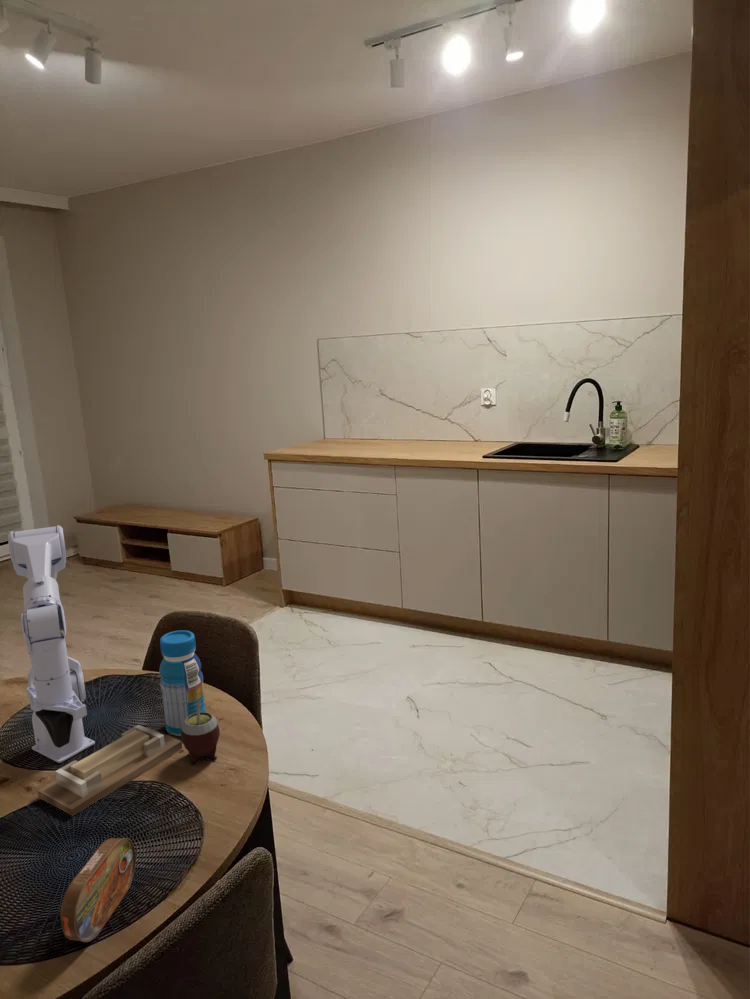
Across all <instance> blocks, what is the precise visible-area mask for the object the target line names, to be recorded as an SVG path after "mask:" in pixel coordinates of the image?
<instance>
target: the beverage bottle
mask: <svg viewBox="0 0 750 999" xmlns="http://www.w3.org/2000/svg"><path fill="white" fill-rule="evenodd" d="M159 641H160V642H159V643H160V644H159V645H160V653H161V656H162V657H163V658H162V660H161V662H160V666H159V675H160V676H161V677H160V680H159V686H160V689H161V694H162V704H163V712H164V725H165V730H166V731H167V733H168V734H170V735H172V736H177V737H181V729H182V725H183V723H184V721H185V719H186V718H187V717H188V716H190V715H192V714H194V713H197V708H196V704H197V702H198V700H199V699H201V698H202V701H201V702H200V703H201V707H200V712H206V704H205V703H206V702H205V694H204V693H205V692H204V675H203V672H202V671H201V669H202V663H201V661H200V658H199V656H198V655H197V654H196V653H195V651H196V647H197V646H196V645H197V644H196V636H195V633H193V632H192V631H190V630H183V629H182V630H174V631H170V632H167V633H165V634H163V635H162V636H161V637H160V640H159Z"/></svg>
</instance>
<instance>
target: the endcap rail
mask: <svg viewBox="0 0 750 999" xmlns="http://www.w3.org/2000/svg"><path fill="white" fill-rule="evenodd" d="M134 730H138V731H140V732H142V733H145V734H147V735H149V741H147V742H146V743H144V754H142V755H141V756H139V757H137V758H136V759H134V760H132V761H131V762H129V763H127V764H126V765H124V766H122V767H121V768H119V769H117V770H116V771H114V772H112V773H111V774H109V775H108V776H106V777H104V778H103V779H102V777H101V773H100V772H98V771H97V772H95V773H93V774H92V775H90V776H88V777H87V778H85V779H83V780H82V779H80V778H78V777H76V776H74V775H72V772H71V766H72V765H74V764H75V763H77V762H79V761H78V760H76V759H75V760H72V761H71V762H69V763H67V764H65V765H63V766H62V767H60V768H58V769H57V770H55V771H54V774H55V780H53V781H51V782H49V783H48V784H46V785H44V786H42V787H41V788H39V789H37V796H38V799H40V800H41V801H43V800H44V801H43V802H45V801H46V802H45V803H47V804H48V803H49V805H50V804H51V805H50V806H52V805H53V806H52V807H54V806H55V807H57V808H59V809H61V810H63V811H64V812H66V813H68V814H70V815H72V816H74V815H76V814H77V813H79V812H81V811H82V812H84V811H85V810H87V809H88V808H90V807H91V806H90V805H92V804H93V805H95V804H97V803H98V802H99V801H98V800H100V799H101V800H103V799H105V798H106V797H107V796H109V795H110V793H111V794H112V793H114V792H116V791H117V790H118V788H119V789H121V787H124V785H127V784H128V783H129V782H131V781H132V780H134V779H136V778H137V777H139V776H141V775H142V774H144V773H145V772H147V771H149V770H151V769H152V768H153V767H155V766H156V765H158V764H160V763H162V761H164V760H167V759H168V758H169V757H171V756H172V755H174V754H175V753H177V752H179V751H180V750H182V749H183V742H182V740H179V739H177V738H174V737H172V736H170V735H168V734H165V733H163V732H160V731H158V730H156V729H153V728H152V727H149V726H148V727H145V726H142V725H141V724H137V725H135V726H133V727H131V728H130V729H128V730H126V731H124V732H123V733H121V737H123V736H125V735H127V734H128V733H130V732H132V731H134ZM102 798H103V799H102ZM101 800H100V801H101ZM97 801H98V802H97ZM94 803H95V804H94ZM93 805H92V806H93ZM89 806H90V807H89ZM55 807H54V808H55ZM87 807H88V808H87ZM57 808H56V809H57ZM86 808H87V809H86ZM59 809H58V810H59ZM84 809H85V810H84ZM61 810H60V811H61ZM83 810H84V811H83ZM64 812H63V813H64ZM82 812H81V813H82ZM66 813H65V814H66ZM68 814H67V815H68ZM79 814H80V813H79ZM77 815H78V814H77ZM77 815H76V816H77ZM74 817H75V816H74Z"/></svg>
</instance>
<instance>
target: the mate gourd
mask: <svg viewBox="0 0 750 999" xmlns="http://www.w3.org/2000/svg"><path fill="white" fill-rule="evenodd" d="M201 701H202V698H201V699H199V700H198V702H197V704H196V708H197V713H194V714H192V715H190V716H188V717H187V718H186V719H185V721H184V723H183V725H182V729H181V736H180V738H181V741H182V745H183V746H184V748H185V750H187V752H188V755H189V756H190V758H191V762H190V765H191V766H195V765H197V764H198V763H199V762H201V761H202V760H203V759H204V760H205V759H206V760H209V761H213V762H215V761H217V760H218V756H216V752H217V745H218V742H219V738H220V736H221V735H220V726H219V722H218V720H217V718H216V717H215V716H214V715H213V714H212V713H210V712H206V711H205V712H200V707H201V703H200V702H201Z"/></svg>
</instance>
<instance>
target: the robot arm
mask: <svg viewBox="0 0 750 999" xmlns="http://www.w3.org/2000/svg"><path fill="white" fill-rule="evenodd" d="M7 541H8V542H7V543H8V549H9V557H10V560H11V562H12V565H13V570H14V571H15V573H16V575H17V576H21V577H24V578H27V581H26V582H25V583H24V585H23V587H22V595H23V610H24V613H23V612H22V613H21V617H20V620H21V628H22V629H21V630H22V634H23V639H24V642H25V644H26V649H27V653H28V655H29V658H30V665H31V669H29V671H28V673H27V688H25V692H26V697H27V699H28V700H29V704H30V705H29V706H30V710H31V711H33V712H32V716H31V722H32V728H33V734H34V741H35V742H34V743H35V744H34V745H33V746H31V750H33V751H34V752H37V753H38V754H40V755H43V756H44V757H46V758H48V759H50V760H52V761H54V762H56V763H58V764H60V763H63V762H65V761H66V760H68V759H70V758H72V757H74V756H75V755H78V754H79V753H81V752H83V751H84V750H86V749H88V748H90V747H92V746H94V745H95V744H96V742H95V740H93V739H91V738H89V737H87V736H85V731H84V725H83V724H84V723H83V718H84V717H86V716H87V715H88V714H87V712H88V711H87V705H86V704H84V703H83V702H85V701H86V699H87V695H86V694H87V693H86V687H85V681H84V673H83V671H82V670H83V669H82V665H81V663H80V661H78V660H77V659H75V658H73V657H70V656H68V651H67V650H68V649H67V644H66V637H67V623H66V617H65V616H66V615H65V609H64V607H63V604H62V601H61V597H60V589H59V583H58V582H57V577H58V573H59V572H61V571H62V570H64V569H66V566H67V565H66V563H67V555H66V554H67V550H66V542H65V535H64V529H63V526H61V525H59V524H58V525H56V526H55V525H54V526H48V527H41V528H35V529H33V528H32V529H26V530H25V529H23V530H17V531H14V530H11V531H10V532H9V533H8V534H7ZM62 631H63V632H62Z"/></svg>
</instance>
